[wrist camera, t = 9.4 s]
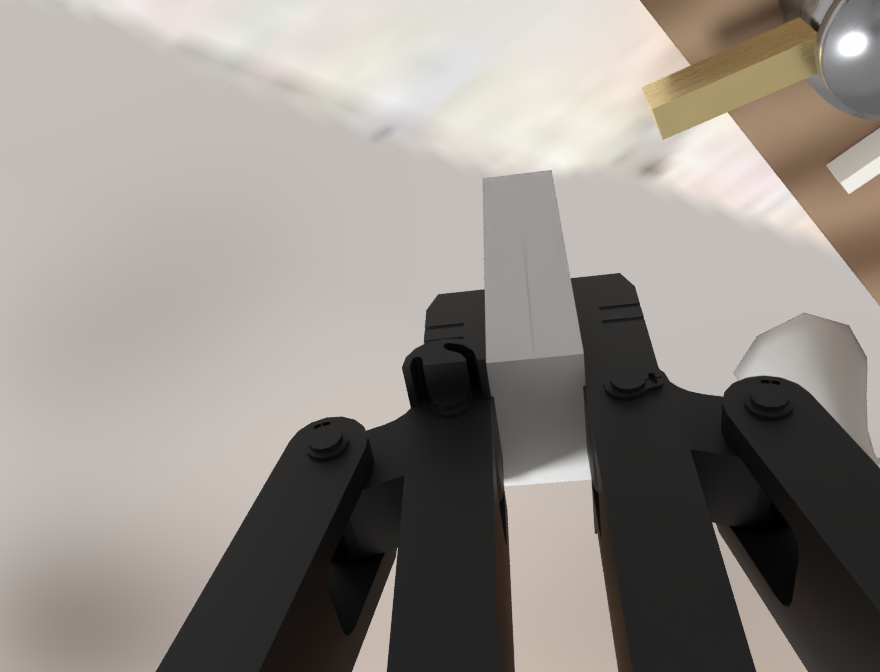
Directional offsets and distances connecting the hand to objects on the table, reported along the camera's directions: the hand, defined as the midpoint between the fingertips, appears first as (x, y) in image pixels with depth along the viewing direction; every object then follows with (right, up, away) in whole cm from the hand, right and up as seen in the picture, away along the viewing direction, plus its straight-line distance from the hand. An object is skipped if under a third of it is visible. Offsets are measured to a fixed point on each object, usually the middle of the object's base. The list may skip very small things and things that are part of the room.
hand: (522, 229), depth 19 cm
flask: (+20, -4, +31) cm, 37 cm away
